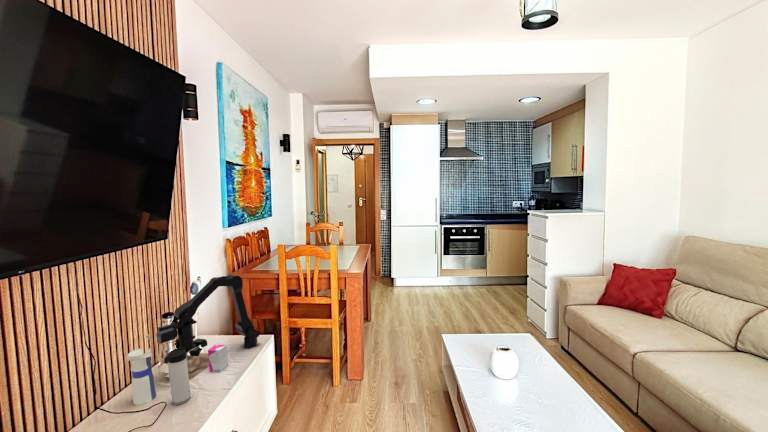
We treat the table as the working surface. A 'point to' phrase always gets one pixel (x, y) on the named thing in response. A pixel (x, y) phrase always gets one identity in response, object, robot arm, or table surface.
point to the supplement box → (218, 358)
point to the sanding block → (192, 363)
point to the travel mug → (179, 376)
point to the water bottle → (142, 376)
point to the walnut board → (203, 365)
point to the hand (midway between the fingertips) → (188, 369)
